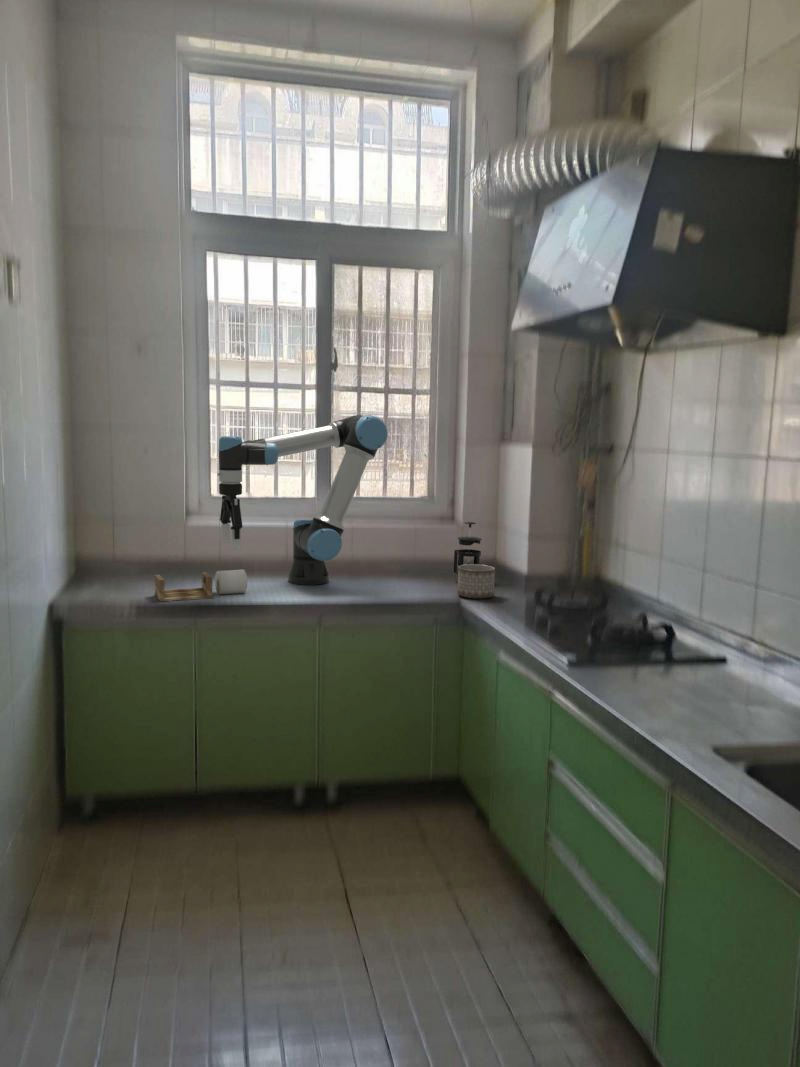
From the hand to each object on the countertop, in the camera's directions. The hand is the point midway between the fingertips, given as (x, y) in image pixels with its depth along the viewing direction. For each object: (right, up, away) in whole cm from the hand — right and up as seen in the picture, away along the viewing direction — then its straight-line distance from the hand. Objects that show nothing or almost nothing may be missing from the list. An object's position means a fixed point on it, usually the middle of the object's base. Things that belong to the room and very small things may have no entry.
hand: (231, 545), depth 278 cm
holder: (-15, -17, -5) cm, 23 cm away
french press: (+82, -15, +33) cm, 90 cm away
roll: (0, -16, +2) cm, 17 cm away
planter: (+83, -18, +9) cm, 86 cm away
